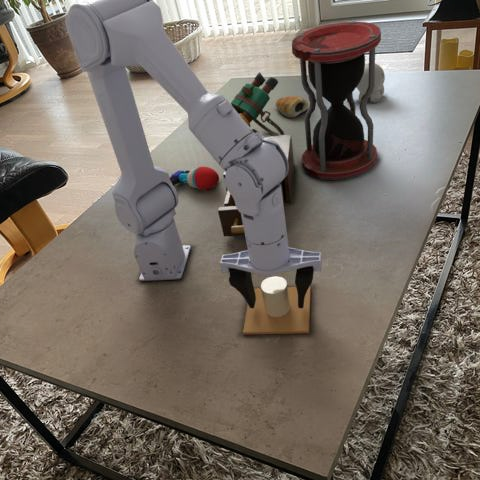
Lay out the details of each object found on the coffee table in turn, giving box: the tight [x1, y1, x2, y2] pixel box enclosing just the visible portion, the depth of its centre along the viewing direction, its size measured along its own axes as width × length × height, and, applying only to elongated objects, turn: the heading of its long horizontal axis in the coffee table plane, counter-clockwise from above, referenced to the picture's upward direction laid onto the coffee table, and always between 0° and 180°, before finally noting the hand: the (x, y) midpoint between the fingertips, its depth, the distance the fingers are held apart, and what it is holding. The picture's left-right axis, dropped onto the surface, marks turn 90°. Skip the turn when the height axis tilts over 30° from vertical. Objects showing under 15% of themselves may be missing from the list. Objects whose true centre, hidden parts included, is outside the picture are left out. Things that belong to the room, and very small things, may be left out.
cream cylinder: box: [260, 275, 290, 317], centre depth 75 cm, size 4×4×5 cm
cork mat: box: [242, 285, 312, 335], centre depth 77 cm, size 10×10×1 cm
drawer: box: [217, 180, 284, 237], centre depth 92 cm, size 17×11×6 cm, turn 173°
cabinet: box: [222, 134, 295, 205], centre depth 102 cm, size 15×13×8 cm
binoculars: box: [230, 72, 286, 136], centre depth 115 cm, size 14×14×15 cm
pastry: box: [275, 95, 309, 119], centre depth 128 cm, size 9×7×4 cm
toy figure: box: [169, 165, 220, 191], centre depth 108 cm, size 8×5×15 cm
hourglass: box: [291, 20, 382, 181], centre depth 98 cm, size 16×16×25 cm
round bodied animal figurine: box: [355, 62, 386, 103], centre depth 124 cm, size 7×12×8 cm, turn 62°
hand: (276, 303), depth 76 cm, fingers open, 7 cm apart
